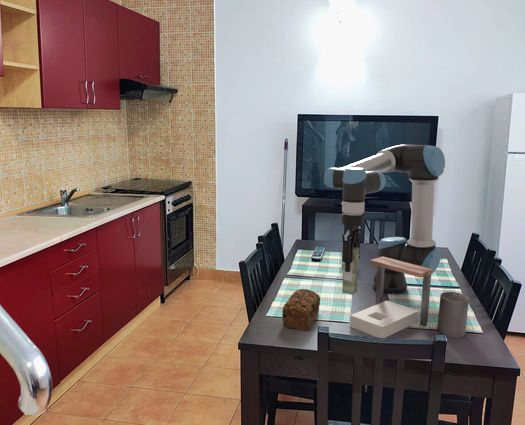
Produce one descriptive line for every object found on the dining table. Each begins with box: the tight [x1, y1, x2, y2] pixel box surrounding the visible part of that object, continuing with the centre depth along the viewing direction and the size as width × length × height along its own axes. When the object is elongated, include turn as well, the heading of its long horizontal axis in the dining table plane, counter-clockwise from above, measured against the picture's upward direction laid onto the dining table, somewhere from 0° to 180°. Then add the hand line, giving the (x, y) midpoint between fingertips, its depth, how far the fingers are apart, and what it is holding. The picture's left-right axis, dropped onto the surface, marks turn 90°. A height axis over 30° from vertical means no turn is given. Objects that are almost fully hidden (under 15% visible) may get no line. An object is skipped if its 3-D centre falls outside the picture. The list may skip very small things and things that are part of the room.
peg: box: [341, 247, 360, 296], centre depth 180 cm, size 4×4×16 cm
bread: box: [281, 288, 321, 332], centre depth 193 cm, size 19×11×10 cm, turn 160°
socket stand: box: [349, 256, 433, 339], centre depth 189 cm, size 24×22×22 cm
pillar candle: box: [436, 291, 470, 339], centre depth 183 cm, size 10×10×15 cm
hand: (350, 278), depth 180 cm, fingers closed on peg, 4 cm apart
